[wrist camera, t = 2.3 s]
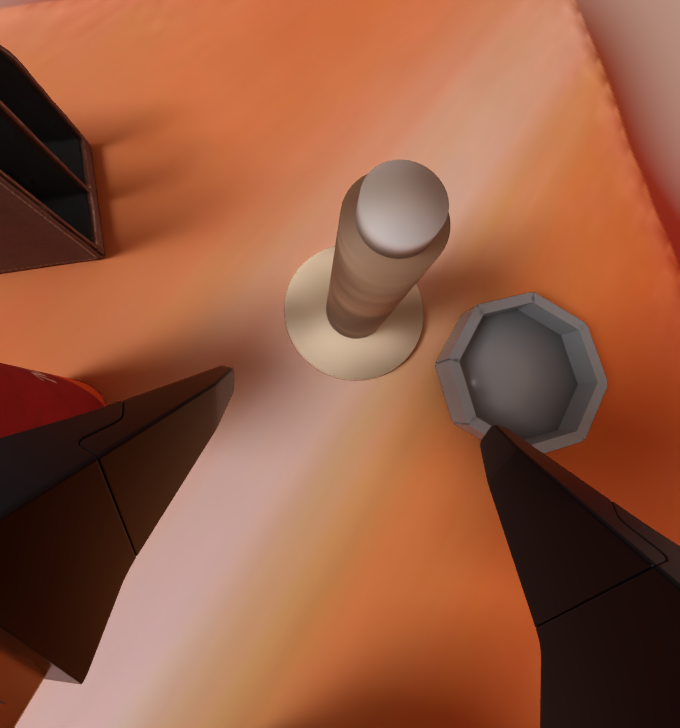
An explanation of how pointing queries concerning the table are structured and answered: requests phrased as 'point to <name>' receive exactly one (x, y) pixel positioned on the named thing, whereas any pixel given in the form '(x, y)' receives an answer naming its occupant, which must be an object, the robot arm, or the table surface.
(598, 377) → the bowl
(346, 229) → the salt mill
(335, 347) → the cork mat
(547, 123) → the table surface
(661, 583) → the robot arm
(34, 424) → the paper cup
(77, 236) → the letter holder
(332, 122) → the table surface
